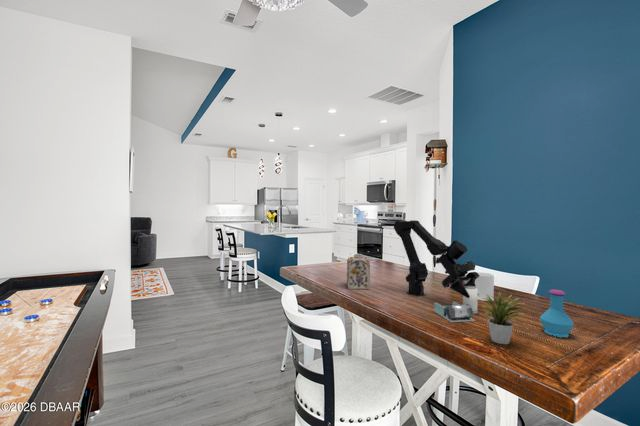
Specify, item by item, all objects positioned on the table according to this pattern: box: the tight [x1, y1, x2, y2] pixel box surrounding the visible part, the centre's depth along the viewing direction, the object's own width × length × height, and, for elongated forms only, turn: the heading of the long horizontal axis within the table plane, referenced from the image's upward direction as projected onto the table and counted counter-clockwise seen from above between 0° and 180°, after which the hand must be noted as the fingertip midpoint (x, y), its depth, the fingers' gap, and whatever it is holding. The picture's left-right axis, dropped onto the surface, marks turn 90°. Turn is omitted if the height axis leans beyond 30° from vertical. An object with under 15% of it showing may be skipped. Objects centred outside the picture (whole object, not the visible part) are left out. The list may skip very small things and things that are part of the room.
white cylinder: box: [462, 285, 479, 315], centre depth 126 cm, size 6×6×10 cm
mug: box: [475, 271, 495, 302], centre depth 144 cm, size 12×8×12 cm
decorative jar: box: [346, 253, 371, 290], centre depth 164 cm, size 12×12×18 cm
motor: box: [432, 301, 475, 323], centre depth 120 cm, size 13×10×6 cm
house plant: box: [481, 290, 529, 345], centre depth 96 cm, size 14×14×16 cm
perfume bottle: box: [539, 289, 574, 338], centre depth 104 cm, size 9×9×15 cm
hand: (473, 296), depth 124 cm, fingers closed on white cylinder, 5 cm apart
